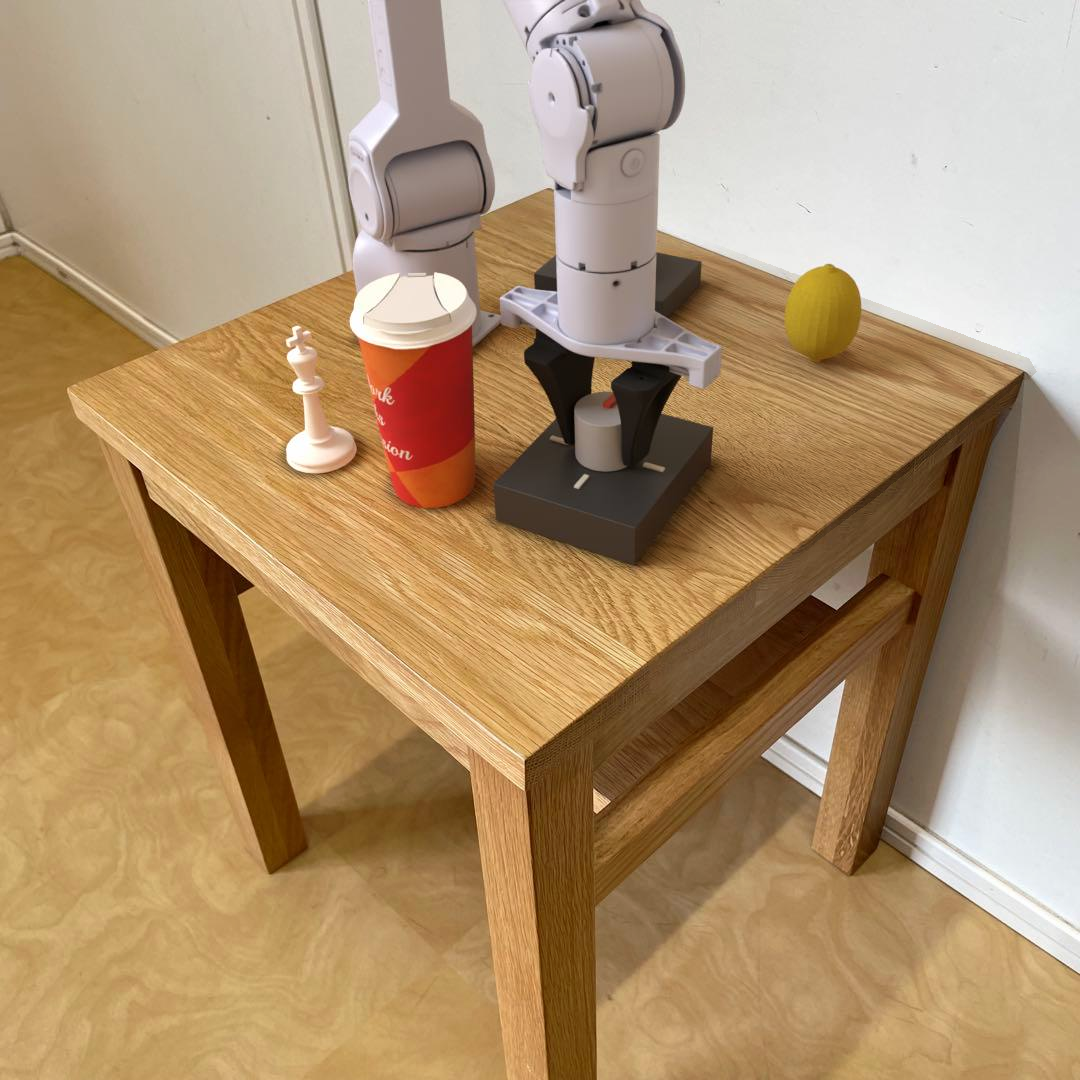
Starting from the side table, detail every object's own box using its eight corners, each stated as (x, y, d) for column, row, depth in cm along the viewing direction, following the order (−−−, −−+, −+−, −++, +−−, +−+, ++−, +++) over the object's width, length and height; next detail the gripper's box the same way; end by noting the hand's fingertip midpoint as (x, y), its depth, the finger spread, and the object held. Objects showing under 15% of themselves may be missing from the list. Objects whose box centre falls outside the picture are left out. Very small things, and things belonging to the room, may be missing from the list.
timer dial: (616, 478, 70) (617, 428, 68) (563, 460, 72) (561, 410, 69) (648, 447, 72) (649, 397, 70) (595, 429, 74) (595, 381, 72)
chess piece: (273, 453, 79) (244, 328, 73) (331, 425, 81) (307, 302, 75) (312, 482, 76) (285, 355, 70) (370, 452, 79) (349, 326, 72)
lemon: (853, 382, 83) (869, 284, 78) (778, 377, 84) (789, 280, 79) (852, 345, 87) (868, 250, 82) (780, 340, 88) (791, 246, 83)
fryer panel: (495, 520, 72) (492, 481, 70) (581, 427, 80) (581, 389, 78) (634, 566, 68) (635, 526, 66) (711, 463, 76) (713, 424, 74)
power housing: (534, 296, 96) (532, 253, 93) (578, 258, 101) (577, 216, 98) (662, 325, 91) (663, 280, 88) (700, 284, 96) (703, 241, 94)
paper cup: (386, 451, 79) (357, 268, 70) (494, 449, 78) (479, 265, 69) (369, 520, 73) (335, 330, 64) (486, 519, 72) (469, 327, 63)
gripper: (754, 253, 62) (736, 452, 71) (543, 200, 69) (550, 388, 78) (691, 304, 58) (680, 509, 67) (472, 243, 65) (488, 436, 73)
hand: (606, 448), depth 72 cm, fingers closed on timer dial, 4 cm apart
